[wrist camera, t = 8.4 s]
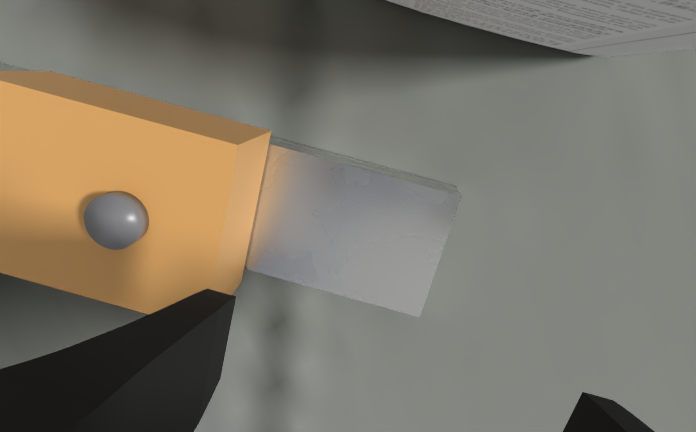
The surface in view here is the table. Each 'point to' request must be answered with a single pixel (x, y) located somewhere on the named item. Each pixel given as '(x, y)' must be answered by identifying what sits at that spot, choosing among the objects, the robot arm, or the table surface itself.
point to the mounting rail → (348, 225)
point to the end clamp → (122, 192)
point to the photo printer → (578, 22)
